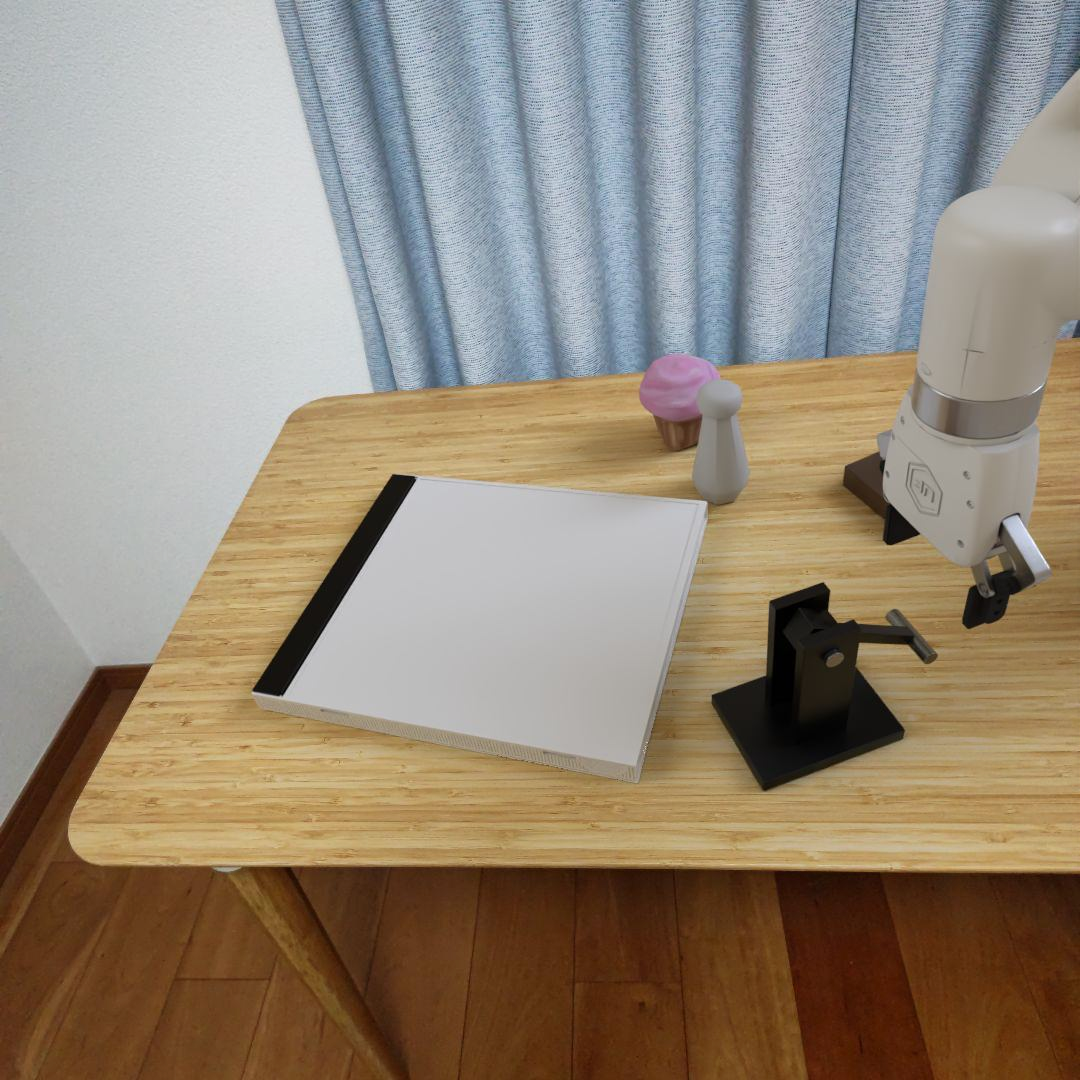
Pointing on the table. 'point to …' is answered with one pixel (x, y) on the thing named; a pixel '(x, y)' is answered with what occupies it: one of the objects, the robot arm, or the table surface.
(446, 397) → the table surface
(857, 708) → the handle bracket
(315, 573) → the table surface
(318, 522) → the table surface
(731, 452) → the salt shaker
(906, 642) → the door handle
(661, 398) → the cupcake
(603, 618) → the cd case
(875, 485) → the plate
